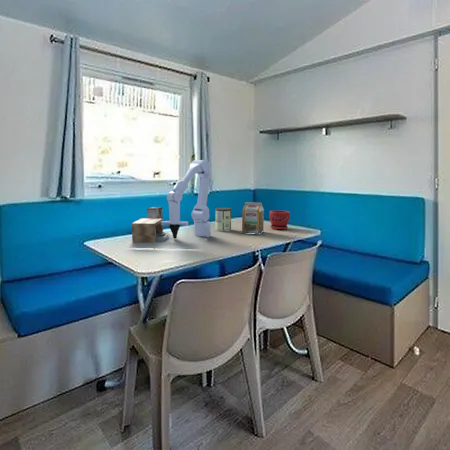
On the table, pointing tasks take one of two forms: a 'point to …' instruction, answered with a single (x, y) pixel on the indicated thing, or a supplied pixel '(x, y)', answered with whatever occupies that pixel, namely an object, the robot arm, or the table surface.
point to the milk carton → (252, 218)
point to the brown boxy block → (146, 230)
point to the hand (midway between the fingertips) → (175, 238)
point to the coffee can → (223, 219)
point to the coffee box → (155, 213)
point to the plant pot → (279, 219)
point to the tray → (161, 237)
